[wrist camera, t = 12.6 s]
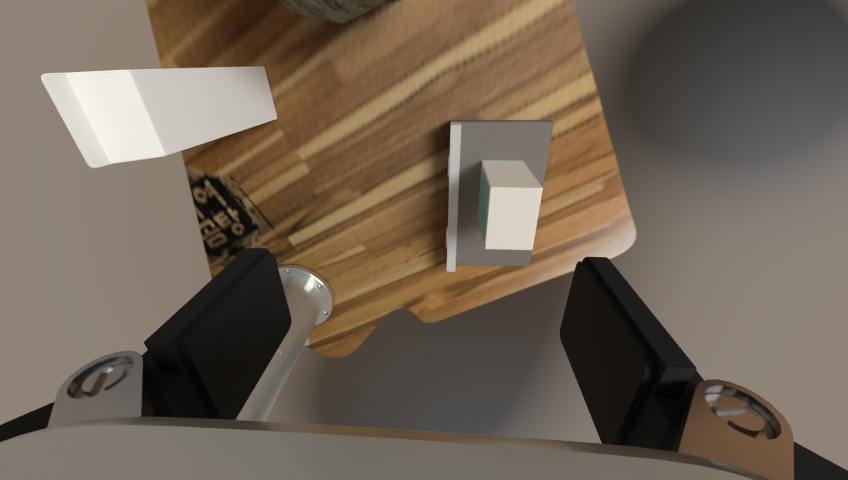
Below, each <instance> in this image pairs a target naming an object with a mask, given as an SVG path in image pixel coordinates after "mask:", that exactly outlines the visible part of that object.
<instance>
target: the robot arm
mask: <svg viewBox="0 0 848 480" xmlns="http://www.w3.org/2000/svg"><path fill="white" fill-rule="evenodd" d="M333 306H334V298H333V294H332V291H331V289H330V287H329V286H328V284H327V283H326V282H325V281H324V280H323V279H322V278H321V277H320V276H319V275H318V274H316V273H315V272H313V271H311V270H309V269H307V268H304V267H302V266H297V265H289V264H286V265H279V266H277V262H276V258H275V256H274V254H272V253H270V252H269V250H268V249H266V248H247V249H245V250H244V251H243V252H242V253H240V254H239V255H238V256H237V257H236V258H235V259H234V260H233V261H232V262H231V263H230V264H228V265H227V266H226V267H225V268H224V269H223V270H222V271H221V272H220V273H219V274H218V275H217V276H215V277H214V278H213V279H212V280H211V281H210V282H209V283H208V284H207V285H206V286H205V287H203V288H202V289H201V290H200V291H199V292H198V293H197V294H196V295H195V296H194V297H193V298H192V299H191V300H190V301H188V302H187V303H186V304H185V305H184V306H183V307H182V308H181V309H179V310H178V311H177V312H176V313H175V314H174V315H173V316H172V317H171V318H170V319H169V320H168V321H166V322H165V323H164V324H163V325H162V326H161V327H160V328H159V329H158V330H157V331H156V332H154V333H153V334H152V335H151V336H150V337H149V338H148V339H147V340H146V341H145V342H144V344H145V346H146V347H147V349H148V350H147V351H146V352H145V353H144V354H143V355H141V354H139V353H137V352H135V351H120V352H115V353H112V354H108V355H105V356H103V357H100V358H98V359H96V360H93V361H92V362H90V363H88V364H86V365H85V366H83V367H81V368H80V369H79V370H77V371H76V372H75V373H73V374H72V375H71V376H69V378H68V379H67V380H66V381H65V382H64V383H63V384H62V385H61V387H60V389H59V391H58V393H57V395H56V399H55V402H53V403H50V404H48V405H46V406H43V407H41V408H39V409H36V410H34V411H32V412H30V413H27V414H25V415H23V416H20V417H18V418H16V419H13V420H11V421H9V422H6V423H4V424H2V425H0V480H848V471H847V470H845V469H843V468H841V467H840V466H838V465H836V464H834V463H832V462H830V461H829V460H826V459H825V458H823V457H821V456H819V455H818V454H816V453H814V452H812V451H810V450H808V449H807V448H804V447H803V446H801V445H799V444H797V443H795V442H794V441H793V433H792V429H791V426H790V425H789V423H788V422H787V420H786V419H785V417H784V416H783V415H782V414H781V413H780V412H779V411H778V410H777V409H776V408H775V407H774V406H773V405H772V404H770V403H769V402H768V401H766V400H765V399H763V398H762V397H761V396H759V395H758V394H756V393H754V392H752V391H750V390H748V389H747V388H745V387H742V386H740V385H737V384H734V383H732V382H728V381H723V380H718V379H712V380H711V379H709V380H705V381H704V380H703V378H702V377H701V376H700V375H699V373H698V372H697V371H696V367H695V366H694V364H693V363H692V362H691V361H690V360H689V358H688V357H687V356H686V354H685V353H684V352H683V351H682V349H681V348H680V347H679V346H678V344H677V343H676V342H675V341H674V340H673V338H672V337H671V336H670V335H669V334H668V332H667V331H666V330H665V328H664V327H663V326H662V325H661V323H660V322H659V321H658V320H657V318H656V317H655V316H654V315H653V313H652V312H651V311H650V310H649V308H648V307H647V306H646V305H645V303H644V302H643V301H642V300H641V298H640V297H639V296H638V295H637V294H636V293H635V291H634V290H633V289H632V287H631V286H630V285H629V284H628V282H627V281H626V280H625V279H624V277H623V276H622V275H621V274H620V272H619V271H618V270H617V269H616V267H614V265H613V264H612V262H611V261H610V260H609V259H608V258H606V257H585V258H584V259H583V261H582V262H580V261H579V262H578V263H577V265H576V268H575V272H574V276H573V280H572V284H571V288H570V292H569V296H568V300H567V304H566V308H565V312H564V316H563V320H562V324H561V328H560V338H561V342H562V344H563V347H564V349H565V352H566V354H567V357H568V359H569V362H570V364H571V367H572V369H573V372H574V374H575V377H576V379H577V382H578V384H579V387H580V389H581V392H582V395H583V397H584V400H585V402H586V404H587V407H588V409H589V412H590V414H591V417H592V419H593V422H594V425H595V427H596V429H597V432H598V435H599V437H600V440H601V442H602V444H599V443H587V442H575V441H563V440H549V439H534V438H519V437H505V436H490V435H475V434H461V433H445V432H430V431H413V430H397V429H381V428H365V427H349V426H332V425H316V424H315V425H314V424H298V423H280V422H279V423H278V422H265V421H266V419H267V417H268V415H269V412H270V410H271V408H272V406H273V404H274V402H275V400H276V398H277V396H278V394H279V392H280V390H281V388H282V386H283V385H284V383H285V381H286V379H287V377H288V375H289V373H290V371H291V369H292V367H293V365H294V363H295V361H296V359H297V357H298V355H299V353H300V351H301V349H302V347H303V346H307V345H309V344H310V343H311V340H310V336H309V335H310V333H311V331H312V329H313V327H314V326H316V325H319V324H321V323H322V322H324V321H325V320H326V319H327V318H328V317H329V315H330V313H331V311H332V309H333Z"/></svg>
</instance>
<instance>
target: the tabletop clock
mask: <svg viewBox="0 0 848 480" xmlns="http://www.w3.org/2000/svg"><path fill="white" fill-rule="evenodd" d="M279 1H280V2H281V3H283V4H284V5H285V6H286V7H288V8H289V9H291V10H292V11H294V12H296V13H299V14H301V15H303V16H306V17H308V18H310V19H315V20H321V21H327V22H333V23H344V24H345V23H347V22H349V21H351V20H353V19H354V18H356V17H358V16H360V15H362V14H364V13H365V12H367V11H369V10H371V9H373V8H375V7H376V6H378V5H380V4H382V3H384V2H386V1H388V0H279Z"/></svg>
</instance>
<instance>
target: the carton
mask: <svg viewBox="0 0 848 480" xmlns="http://www.w3.org/2000/svg"><path fill="white" fill-rule="evenodd" d="M542 190H543V187H542V186H541V185H540V183H539V182H538V181H537V179H536V178H535V177H534V175H533V174H532V172H531V171H530V170H529V168H528V167H527V166H526V164H525V163H524V162H523V161H511V160H482V167H481V179H480V193H479V207H478V218H479V223H480V228H481V234H482V239H483V241H484V245H485V249H506V250H532V249H533V243H534V237H535V231H536V225H537V219H538V214H539V208H540V202H541V196H542Z"/></svg>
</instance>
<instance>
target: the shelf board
mask: <svg viewBox="0 0 848 480" xmlns="http://www.w3.org/2000/svg"><path fill="white" fill-rule="evenodd" d="M553 124H554V122H553V121H551V120H451V125H450V155H448V177H449V200H448V228H446V247H447V271H448V272H455V265H456V264H468V265H504V266H529V265H530V259H531V254H532V250H506V249H485V245H484V241H483V239H482V234H481V228H480V223H479V218H478V207H479V193H480V179H481V167H482V160H511V161H523V162H524V163H525V164H526V166H527V167H528V168H529V170H530V171H531V172H532V174H533V175H534V177H535V178H536V179H537V181H538V182H539V183H540V185H541V186H542V187H543V183H544V177H545V171H546V165H547V160H548V154H549V148H550V142H551V136H552V130H553Z"/></svg>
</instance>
